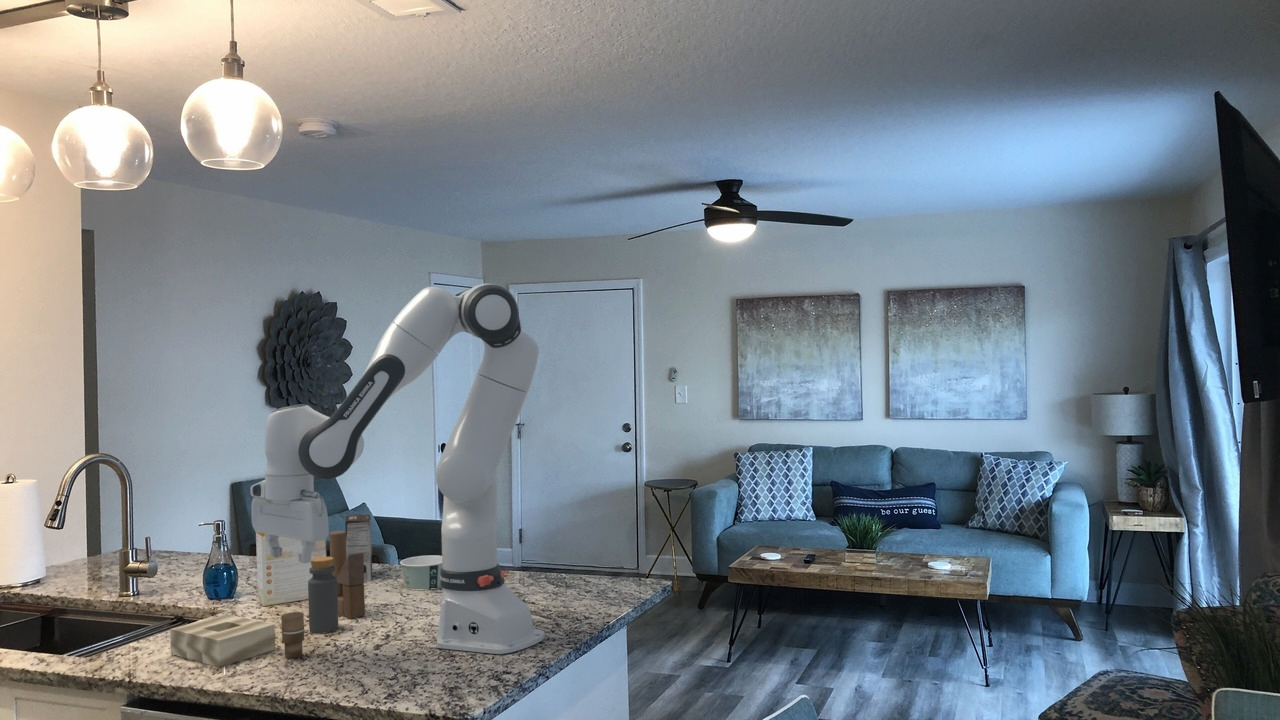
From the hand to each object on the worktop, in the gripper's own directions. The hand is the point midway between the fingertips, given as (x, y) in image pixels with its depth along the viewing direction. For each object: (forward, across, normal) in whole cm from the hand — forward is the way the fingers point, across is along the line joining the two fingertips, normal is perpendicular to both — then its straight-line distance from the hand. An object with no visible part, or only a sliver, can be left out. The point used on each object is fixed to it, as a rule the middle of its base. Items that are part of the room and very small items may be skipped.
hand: (290, 559), depth 182 cm
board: (+19, +13, +6) cm, 24 cm away
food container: (+18, +20, -52) cm, 58 cm away
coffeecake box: (+19, +39, -27) cm, 51 cm away
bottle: (+18, +9, -14) cm, 25 cm away
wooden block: (+19, +16, -25) cm, 35 cm away
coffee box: (+19, +42, -48) cm, 67 cm away
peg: (+18, -2, 0) cm, 18 cm away
